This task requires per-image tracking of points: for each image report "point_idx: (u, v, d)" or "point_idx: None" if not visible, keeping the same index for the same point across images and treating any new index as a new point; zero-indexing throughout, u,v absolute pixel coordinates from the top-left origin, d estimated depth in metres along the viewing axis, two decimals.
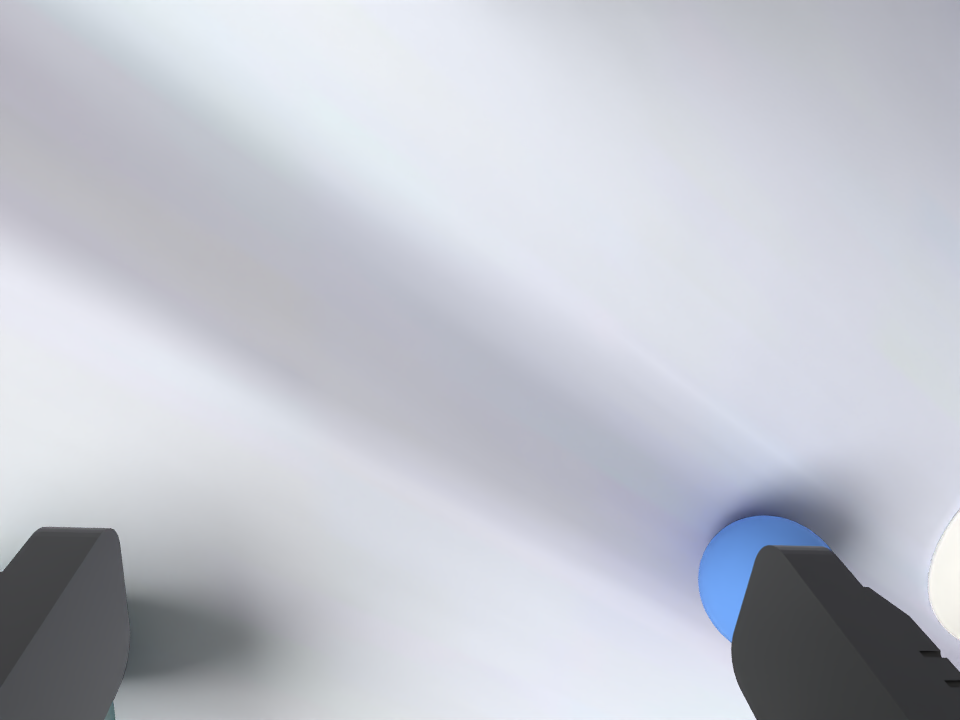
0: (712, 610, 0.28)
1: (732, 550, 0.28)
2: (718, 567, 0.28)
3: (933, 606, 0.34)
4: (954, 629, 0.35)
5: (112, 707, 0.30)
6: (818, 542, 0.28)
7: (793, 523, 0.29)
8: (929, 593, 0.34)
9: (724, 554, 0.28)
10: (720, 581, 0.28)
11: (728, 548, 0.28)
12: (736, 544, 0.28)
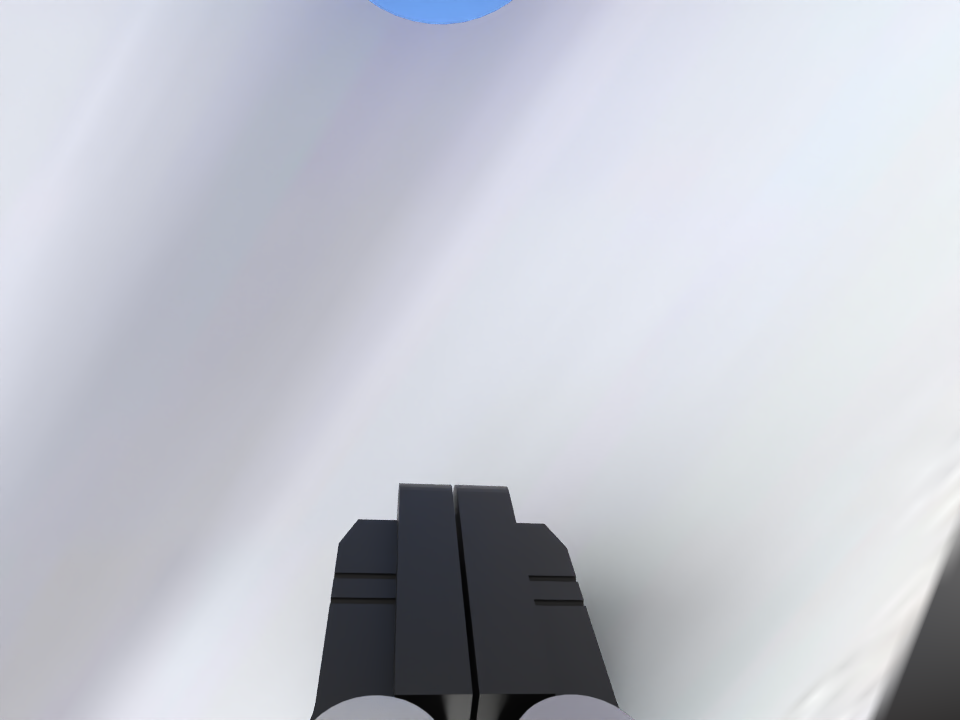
0: (464, 14, 0.15)
1: None
2: (379, 5, 0.15)
3: None
4: None
5: None
6: None
7: None
8: None
9: None
10: (393, 7, 0.15)
11: None
12: None
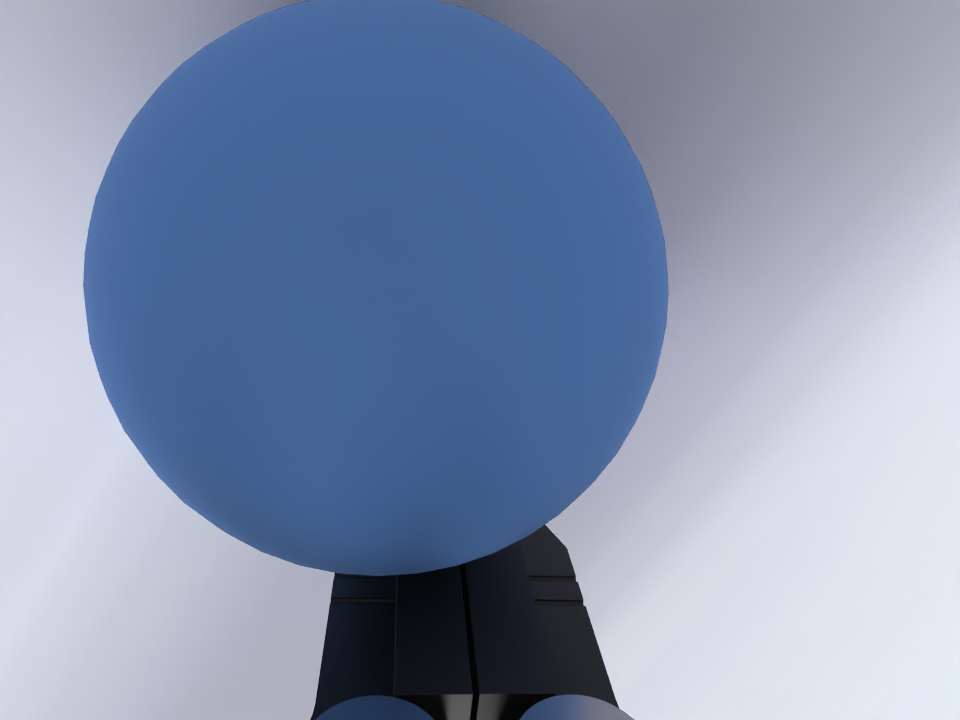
0: (459, 525, 0.06)
1: (170, 488, 0.06)
2: (246, 536, 0.06)
3: None
4: None
5: None
6: None
7: None
8: None
9: (203, 515, 0.06)
10: (273, 526, 0.06)
11: (184, 501, 0.06)
12: None
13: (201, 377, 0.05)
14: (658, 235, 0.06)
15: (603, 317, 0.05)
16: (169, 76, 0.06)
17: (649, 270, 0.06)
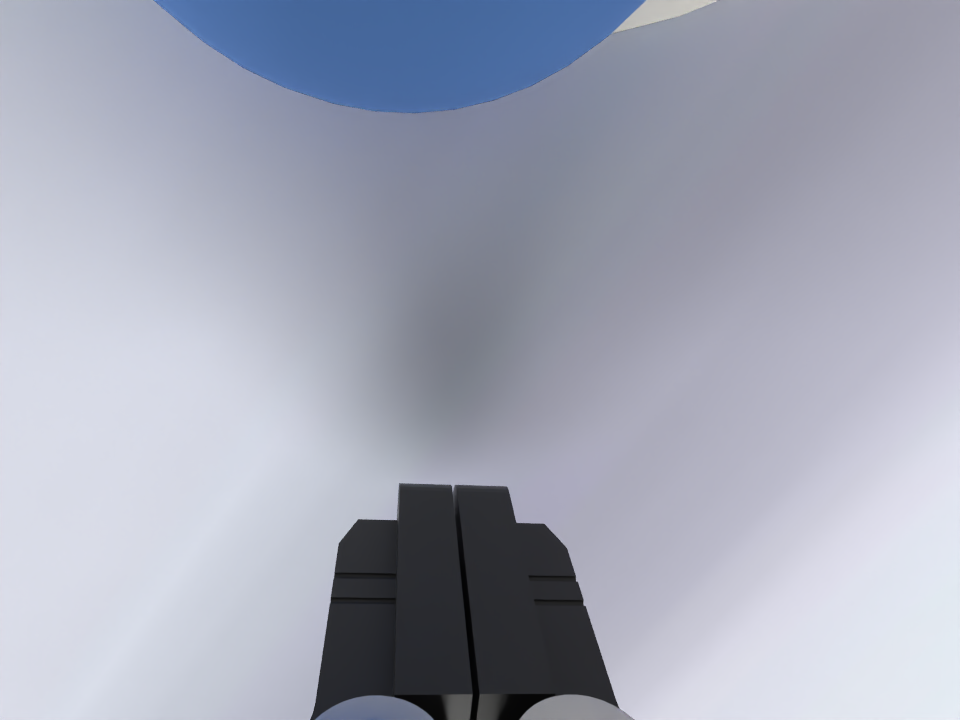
0: None
1: None
2: None
3: None
4: None
5: None
6: None
7: None
8: None
9: None
10: None
11: None
12: None
13: None
14: None
15: None
16: None
17: None
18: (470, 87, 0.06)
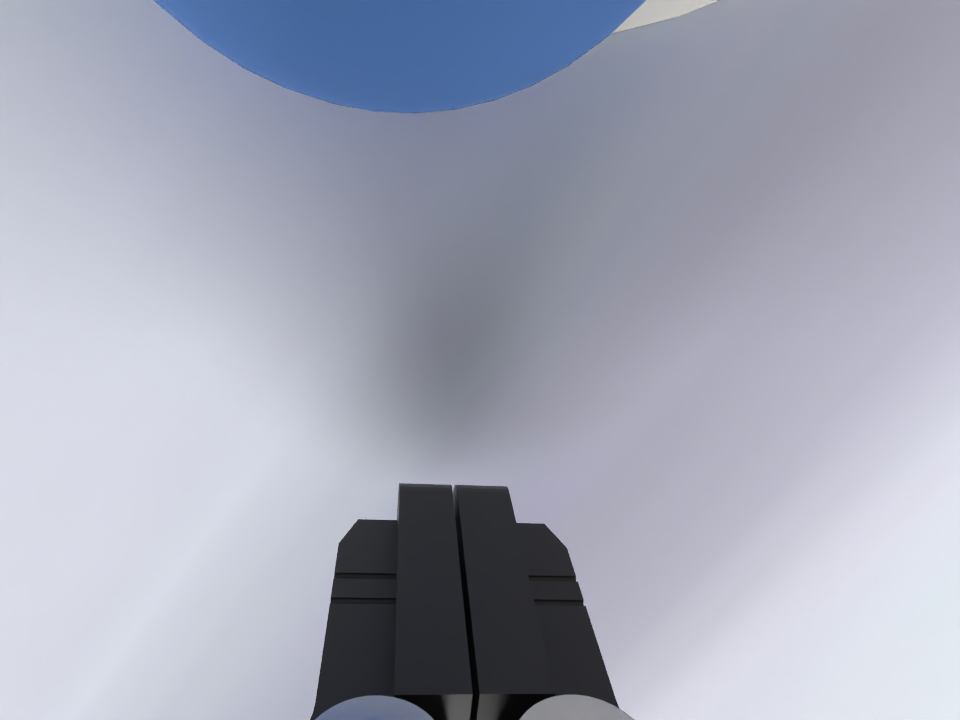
0: None
1: None
2: None
3: None
4: None
5: None
6: None
7: None
8: None
9: None
10: None
11: None
12: None
13: None
14: None
15: None
16: None
17: None
18: (470, 87, 0.06)
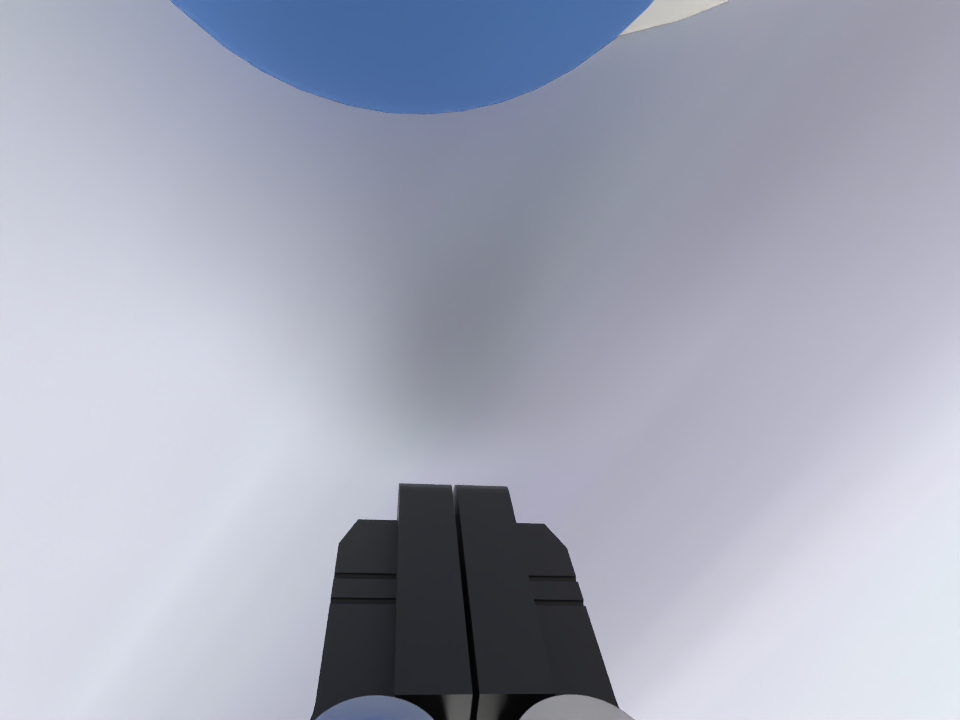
0: None
1: None
2: None
3: None
4: None
5: None
6: None
7: None
8: None
9: None
10: None
11: None
12: None
13: None
14: None
15: None
16: None
17: None
18: (480, 90, 0.06)
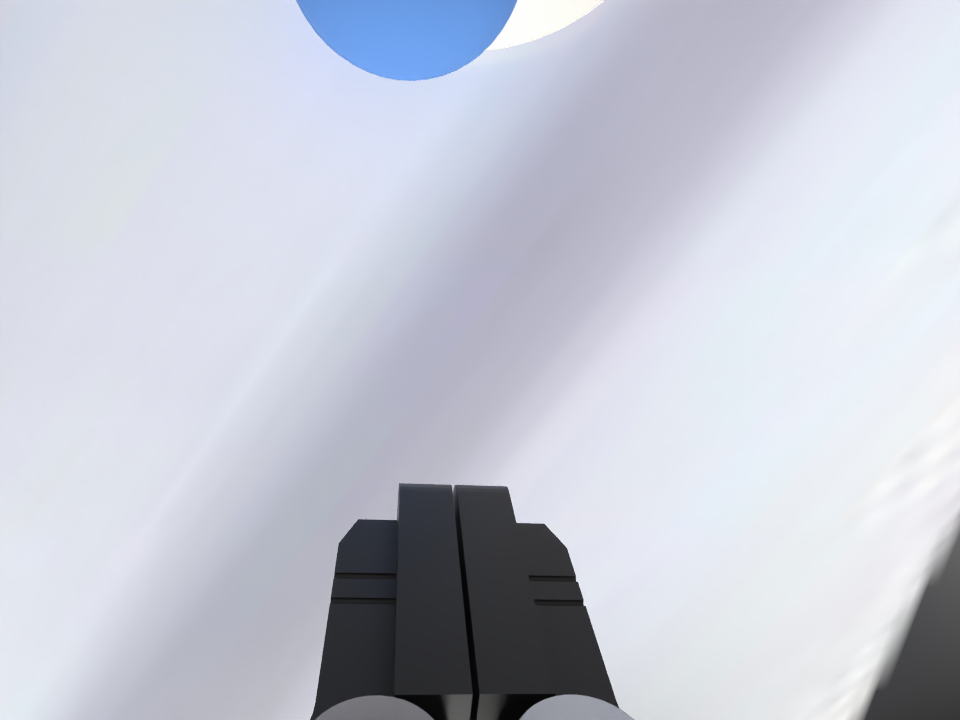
0: None
1: None
2: None
3: (570, 22, 0.20)
4: None
5: None
6: None
7: None
8: None
9: None
10: None
11: None
12: None
13: None
14: None
15: None
16: None
17: None
18: (431, 70, 0.17)
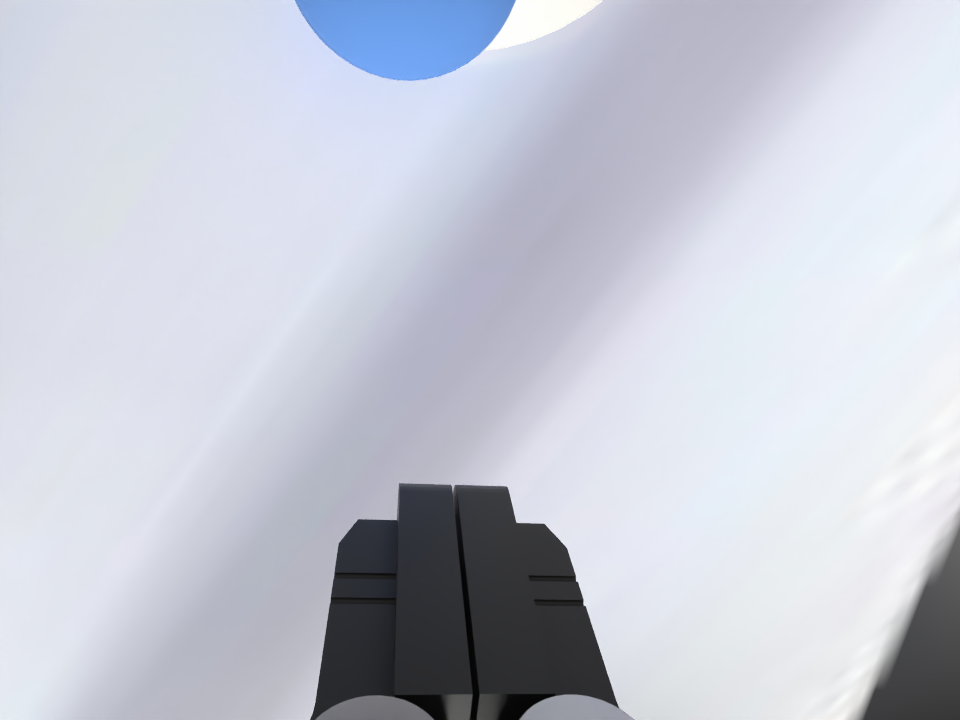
0: None
1: None
2: None
3: (568, 22, 0.20)
4: None
5: None
6: None
7: None
8: None
9: None
10: None
11: None
12: None
13: None
14: None
15: None
16: None
17: None
18: (429, 70, 0.17)
